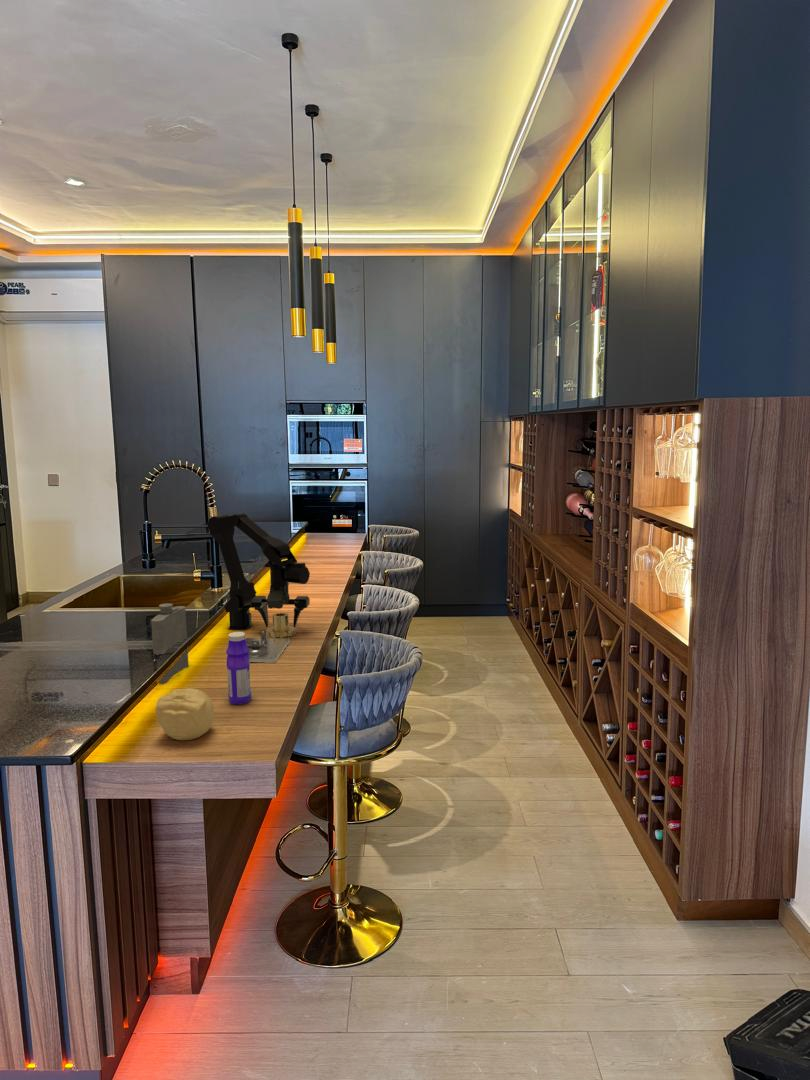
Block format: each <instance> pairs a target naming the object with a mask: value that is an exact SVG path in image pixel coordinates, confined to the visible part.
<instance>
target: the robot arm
mask: <svg viewBox="0 0 810 1080" xmlns="http://www.w3.org/2000/svg"><path fill="white" fill-rule="evenodd" d="M206 524H207V529H208V531H209V532H210V535H211V537H212V538H213V539H214V540H215V541H216V542H217V543H218V546H219V549H220V552H221V555H222V558H223V561H224V565H225V568H226V571H227V574H228V579H229V581H230V586H229V600H228V601H227V602H226V603H225V605H224V606H223V607H224V610H225V613H228V615H229V617H228V618H229V627H228V628H227V629H228V630H248V629H249V628H250V627H251V626H252V624H253V623H252V613H251V611H250V609H252V608H253V609H254V610H255V611H258V612H259V614H260V615H261V618H262V620H263V622H264V625H265V627H266V628H269V611H268V609H278V610H279V609H282V608H283V606H284V605H289V606H292V605H294V608H293V613H294V614H293V626H294V627H295V628H297V624H298V620H299V617H300V614H301V612H302V611H304V610H305V609H307V608H308V607H309V605H310V603H311V602H310V601H311V599H310V597H309V596H308V595H299V596H298V595H297V597H295V598H291V597H290V594H289V593H290V592H289V585H290V583H291V584H299V585H306V584H308V582H309V580H310V573H311V572H310V570H309V568H308V567H307V566H306V563H305V562H298V560H297V559H296V557H295V556H294V554H293V552H292V550H291V549H290V548H291V547H290V545H289V544H288V543H286V542H285V541H283V540H281V539H280V538H277V537H273V536H271V535H270V534H269V533H268V532H266V531H265V530H264V529H263V528H262V527H260V526H259V525H258V524H257V523H256V522H254V521H253V520H252V519H250V518H249V516H248V514H247V513H244V512H240V513H235V514H233V515H229V514H220V515H214V516H210V518H209V519H208V522H207V523H206ZM235 527H236V528H237V529H238V530H240V531H241V533H242V532H243V533H244V535H246V536H247V537H248V538H249V539H250V540H252V541H253V542H254V543H255V544H257V545H258V547H259V548H260V549H261V551H262V554H263V556H265V558H266V559H267V560H268V561H267V562H266V563H265V564H264V565H263V566H264V567H265V568H269V571H270V572H269V574H270V575H269V577H270V579H269V580H270V585H269V591H268V592H269V593H268V595H267V596H266V595H257V594H258V593H257V591H256V589H255V585H254V582H253V581H251V582H250V581H248V579H246V577H245V574H244V571H243V567H242V564H241V561H240V558H239V554H238V551H237V548H236V545H235V541H234V535H235V531H236V530H235Z"/></svg>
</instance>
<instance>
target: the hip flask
mask: <svg viewBox="0 0 810 1080" xmlns="http://www.w3.org/2000/svg"><path fill="white" fill-rule="evenodd" d="M173 605H174V604H173V603H161V604H159V605H158V608H159V611H160V613H159V614H157V615H155V616H154V617H152V619H151V620H150V621H151V636H152V637H151V639H152V640H151V641H152V652H153V653H154V654H156V655H159V654H164V653H166V651H167V650H168V649H169V648H170V647H172V646H173V645H174V644H176V643H177V642H180V641H182V640H184V639H187V640H188V634H187V618H186V614H187V613H186V607H185V606H183V605H178V606H173ZM189 666H190V665H189V652H188V647H187V649H186V651H185V652H184V653H183V654H182V655H181V657H180V658H179V660H178V661H177V662H176V663H175V664H174V666H173V667H172V668H171V669H170V670H168V671H167V672H166V674H165V675H164V676H163V678H162V679H161V680H160V681H159V684H158V685H163V684H167V683H168V682H169V681H170V679H172V677H174V676H175V675H176V674H177V673H179V672H181V671H183V670H184V669H186V668H188V667H189Z"/></svg>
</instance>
